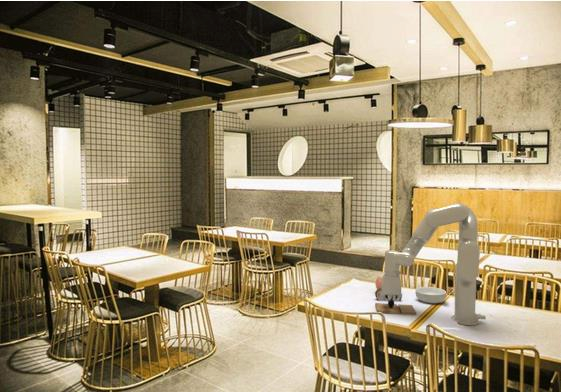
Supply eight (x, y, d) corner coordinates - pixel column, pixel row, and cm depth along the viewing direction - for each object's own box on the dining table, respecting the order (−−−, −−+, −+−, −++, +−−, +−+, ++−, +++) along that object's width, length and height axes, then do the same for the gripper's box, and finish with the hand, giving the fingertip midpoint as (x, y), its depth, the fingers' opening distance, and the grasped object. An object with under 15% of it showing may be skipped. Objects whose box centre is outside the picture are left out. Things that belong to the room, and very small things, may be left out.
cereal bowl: (427, 296, 245) (427, 284, 245) (452, 303, 231) (452, 291, 231) (408, 301, 236) (409, 289, 235) (433, 309, 222) (433, 296, 221)
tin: (401, 301, 234) (401, 287, 234) (402, 303, 231) (402, 289, 231) (374, 300, 236) (375, 286, 235) (375, 302, 233) (375, 288, 232)
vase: (371, 294, 249) (372, 266, 248) (380, 289, 260) (380, 262, 259) (393, 298, 241) (393, 269, 240) (401, 292, 252) (401, 265, 251)
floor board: (412, 309, 221) (412, 304, 221) (417, 317, 208) (417, 312, 208) (371, 307, 224) (371, 302, 224) (374, 315, 211) (374, 310, 211)
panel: (396, 306, 222) (396, 304, 222) (399, 314, 210) (399, 311, 210) (375, 305, 223) (375, 303, 223) (377, 313, 211) (377, 310, 211)
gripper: (404, 272, 218) (404, 305, 219) (376, 271, 220) (376, 304, 221) (407, 275, 211) (406, 310, 211) (378, 274, 213) (377, 308, 213)
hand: (391, 307), depth 216 cm, fingers closed
